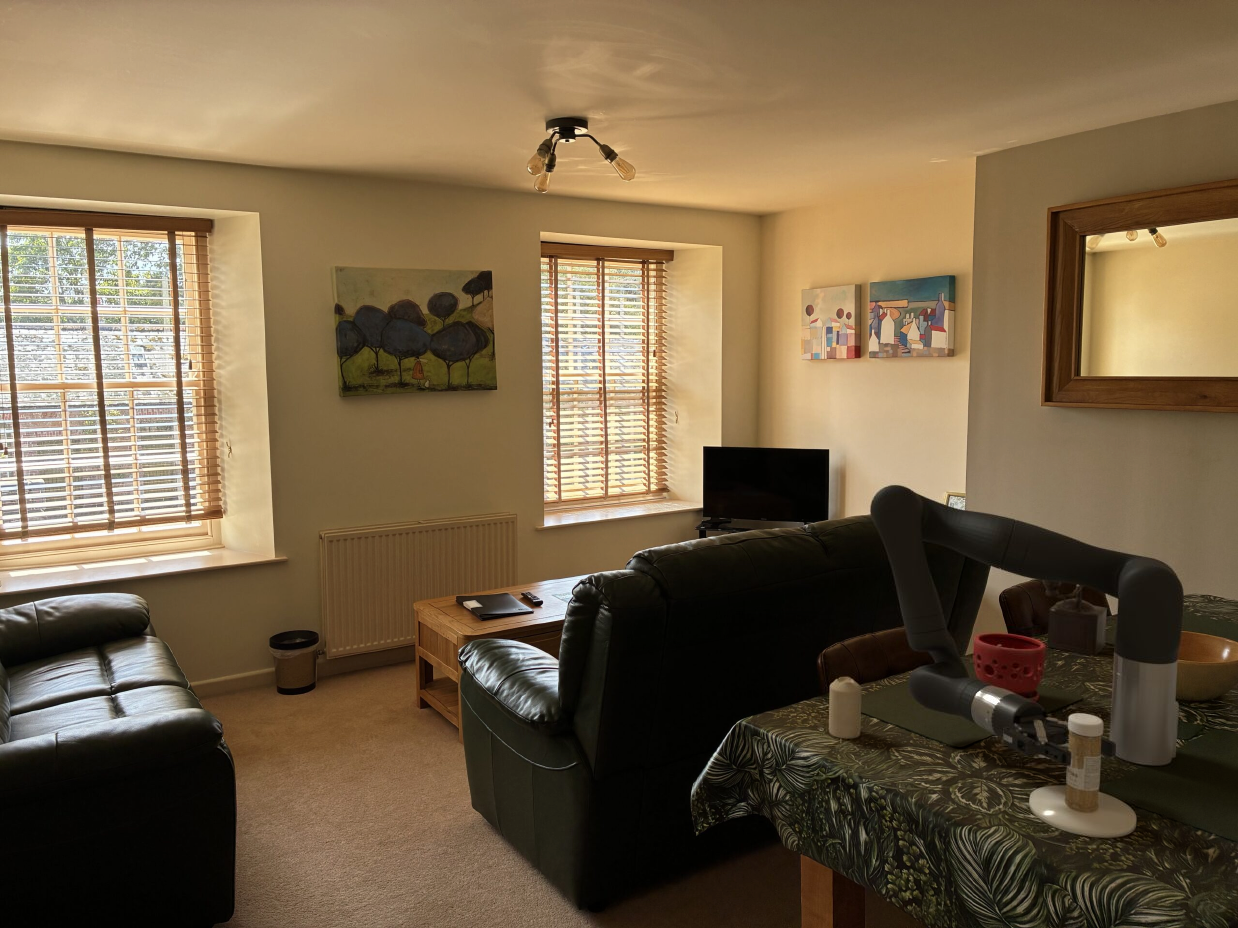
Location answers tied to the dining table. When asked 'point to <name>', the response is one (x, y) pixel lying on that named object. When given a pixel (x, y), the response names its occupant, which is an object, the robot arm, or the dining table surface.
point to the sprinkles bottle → (1084, 762)
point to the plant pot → (1010, 662)
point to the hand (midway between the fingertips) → (1092, 754)
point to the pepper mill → (1075, 623)
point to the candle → (845, 708)
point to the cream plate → (1083, 814)
